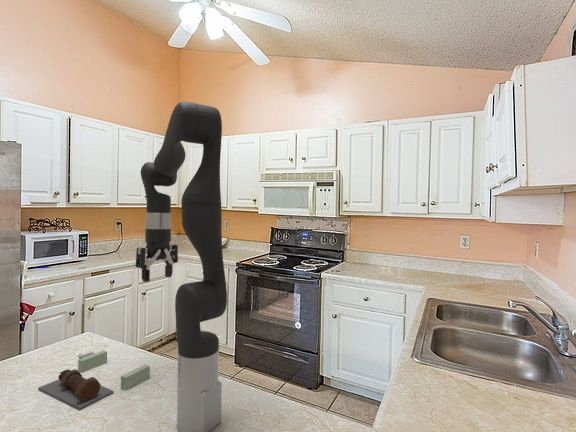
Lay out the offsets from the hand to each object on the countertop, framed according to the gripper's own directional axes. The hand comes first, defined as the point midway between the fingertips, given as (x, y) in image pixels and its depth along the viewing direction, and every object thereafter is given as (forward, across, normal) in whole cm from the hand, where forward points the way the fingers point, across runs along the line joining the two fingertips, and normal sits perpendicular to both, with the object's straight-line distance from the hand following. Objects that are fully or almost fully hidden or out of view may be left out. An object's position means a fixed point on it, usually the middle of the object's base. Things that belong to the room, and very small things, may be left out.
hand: (157, 279), depth 104 cm
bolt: (+28, -20, +7) cm, 35 cm away
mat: (+28, -20, +8) cm, 35 cm away
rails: (+28, -9, +11) cm, 31 cm away
